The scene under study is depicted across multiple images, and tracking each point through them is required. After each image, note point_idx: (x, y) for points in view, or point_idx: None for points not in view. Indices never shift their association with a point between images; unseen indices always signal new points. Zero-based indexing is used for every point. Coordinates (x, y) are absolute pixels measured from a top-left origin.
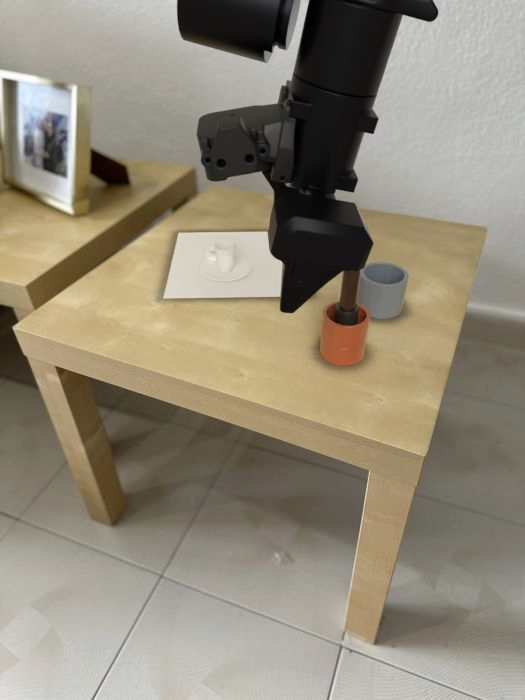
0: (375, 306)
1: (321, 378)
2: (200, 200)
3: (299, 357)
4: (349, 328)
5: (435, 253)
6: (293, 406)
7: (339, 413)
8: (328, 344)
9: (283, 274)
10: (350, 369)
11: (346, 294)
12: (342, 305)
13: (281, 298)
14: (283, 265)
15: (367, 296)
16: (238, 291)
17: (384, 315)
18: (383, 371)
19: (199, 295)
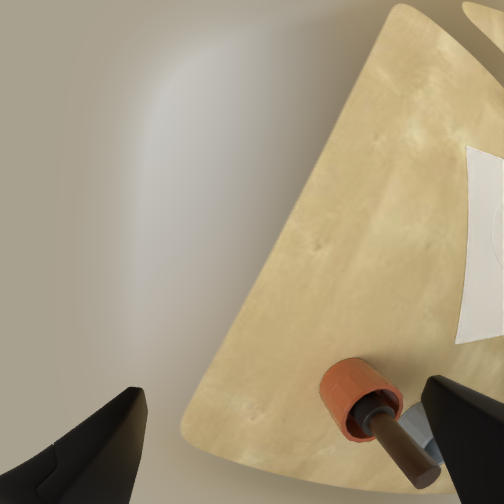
0: (407, 428)
1: (299, 357)
2: None
3: (345, 330)
4: (340, 418)
5: None
6: (248, 316)
7: (232, 371)
8: (343, 377)
9: (24, 464)
10: (312, 392)
11: (383, 433)
12: (377, 418)
13: (97, 411)
14: (21, 484)
15: (421, 423)
16: (476, 248)
17: None
18: (302, 427)
19: (472, 194)
